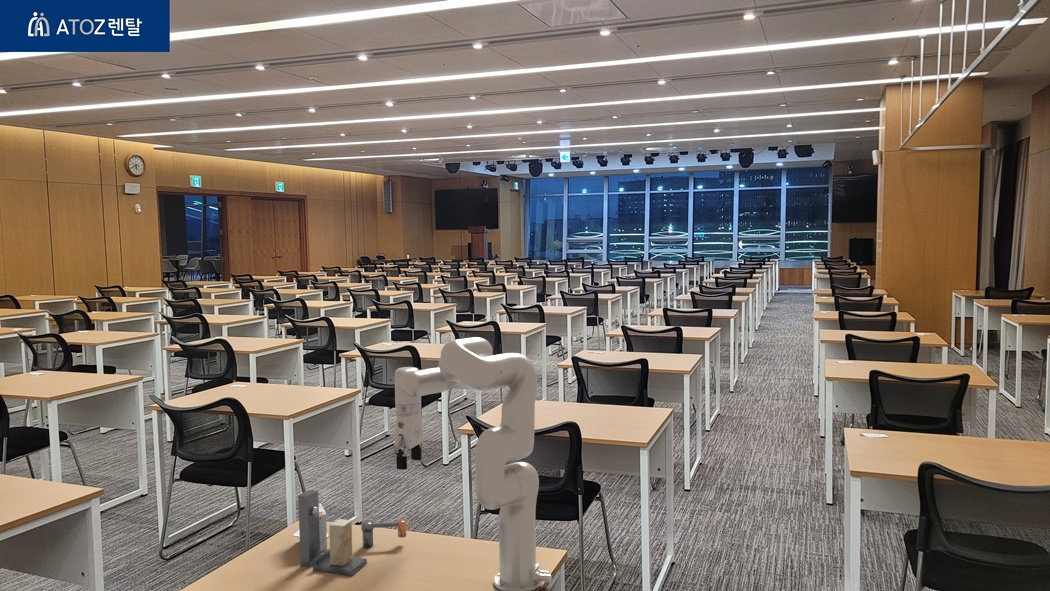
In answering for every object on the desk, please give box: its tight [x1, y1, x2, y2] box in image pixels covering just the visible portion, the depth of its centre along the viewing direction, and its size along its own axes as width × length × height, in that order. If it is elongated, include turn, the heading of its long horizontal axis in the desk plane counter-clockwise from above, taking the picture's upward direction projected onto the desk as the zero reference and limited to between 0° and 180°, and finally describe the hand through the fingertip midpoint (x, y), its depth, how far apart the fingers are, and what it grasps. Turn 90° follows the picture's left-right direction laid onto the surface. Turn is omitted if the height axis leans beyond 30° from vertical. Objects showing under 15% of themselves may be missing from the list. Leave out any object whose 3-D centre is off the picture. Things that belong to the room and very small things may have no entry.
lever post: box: [361, 529, 374, 549], centre depth 216 cm, size 3×3×5 cm
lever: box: [360, 519, 407, 538], centre depth 216 cm, size 13×4×5 cm, turn 97°
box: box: [329, 518, 353, 566], centre depth 202 cm, size 5×4×11 cm
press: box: [297, 489, 368, 577], centre depth 202 cm, size 17×8×20 cm, turn 72°
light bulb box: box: [319, 503, 328, 552], centre depth 217 cm, size 11×7×11 cm, turn 25°
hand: (409, 464), depth 222 cm, fingers open, 9 cm apart
